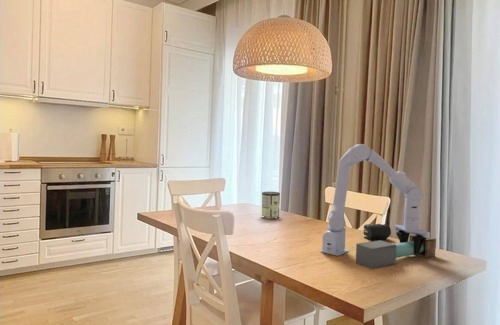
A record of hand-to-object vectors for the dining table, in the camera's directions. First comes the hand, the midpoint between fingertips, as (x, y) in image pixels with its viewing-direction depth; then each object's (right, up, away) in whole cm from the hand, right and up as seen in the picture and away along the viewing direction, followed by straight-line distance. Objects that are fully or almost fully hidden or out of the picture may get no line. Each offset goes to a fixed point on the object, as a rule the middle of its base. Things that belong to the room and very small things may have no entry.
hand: (410, 252), depth 148 cm
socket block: (+6, -2, +4) cm, 7 cm away
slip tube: (-4, -1, -2) cm, 4 cm away
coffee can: (-50, +3, +73) cm, 89 cm away
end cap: (-4, -1, +27) cm, 27 cm away
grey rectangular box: (-16, -2, -9) cm, 19 cm away
